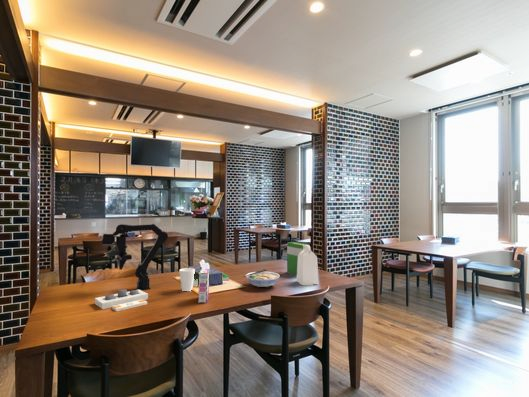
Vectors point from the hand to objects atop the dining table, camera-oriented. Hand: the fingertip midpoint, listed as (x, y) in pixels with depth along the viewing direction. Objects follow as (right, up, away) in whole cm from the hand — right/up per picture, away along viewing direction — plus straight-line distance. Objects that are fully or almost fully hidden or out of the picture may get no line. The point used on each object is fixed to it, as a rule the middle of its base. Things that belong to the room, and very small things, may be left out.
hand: (120, 269), depth 189 cm
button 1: (+6, -12, -25) cm, 28 cm away
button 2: (+15, -12, -16) cm, 25 cm away
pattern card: (+18, -13, -28) cm, 36 cm away
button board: (+10, -13, -20) cm, 26 cm away
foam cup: (+41, -14, +2) cm, 43 cm away
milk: (+119, -15, +23) cm, 122 cm away
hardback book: (+115, -15, +49) cm, 126 cm away
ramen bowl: (+88, -14, +13) cm, 90 cm away
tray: (+48, -15, +26) cm, 56 cm away
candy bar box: (+55, -14, -17) cm, 59 cm away
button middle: (+10, -10, -20) cm, 25 cm away
